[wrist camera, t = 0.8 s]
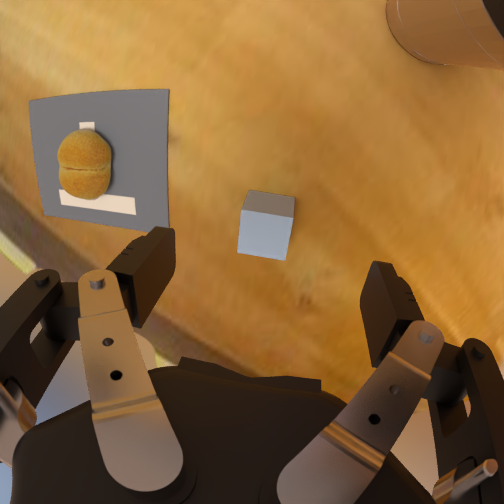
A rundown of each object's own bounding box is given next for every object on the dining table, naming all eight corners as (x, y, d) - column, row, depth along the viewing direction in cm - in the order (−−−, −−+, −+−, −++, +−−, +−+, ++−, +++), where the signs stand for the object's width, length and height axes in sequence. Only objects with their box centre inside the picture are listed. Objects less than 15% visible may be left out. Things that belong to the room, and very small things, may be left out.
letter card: (29, 100, 29) (28, 101, 29) (169, 89, 28) (168, 89, 28) (45, 214, 39) (44, 215, 39) (169, 234, 38) (168, 235, 38)
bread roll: (115, 129, 31) (96, 138, 27) (114, 197, 36) (98, 211, 33) (64, 124, 31) (44, 132, 27) (66, 186, 36) (49, 199, 33)
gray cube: (249, 189, 33) (241, 209, 29) (294, 197, 33) (293, 218, 29) (245, 228, 36) (237, 252, 32) (287, 235, 36) (285, 260, 32)
